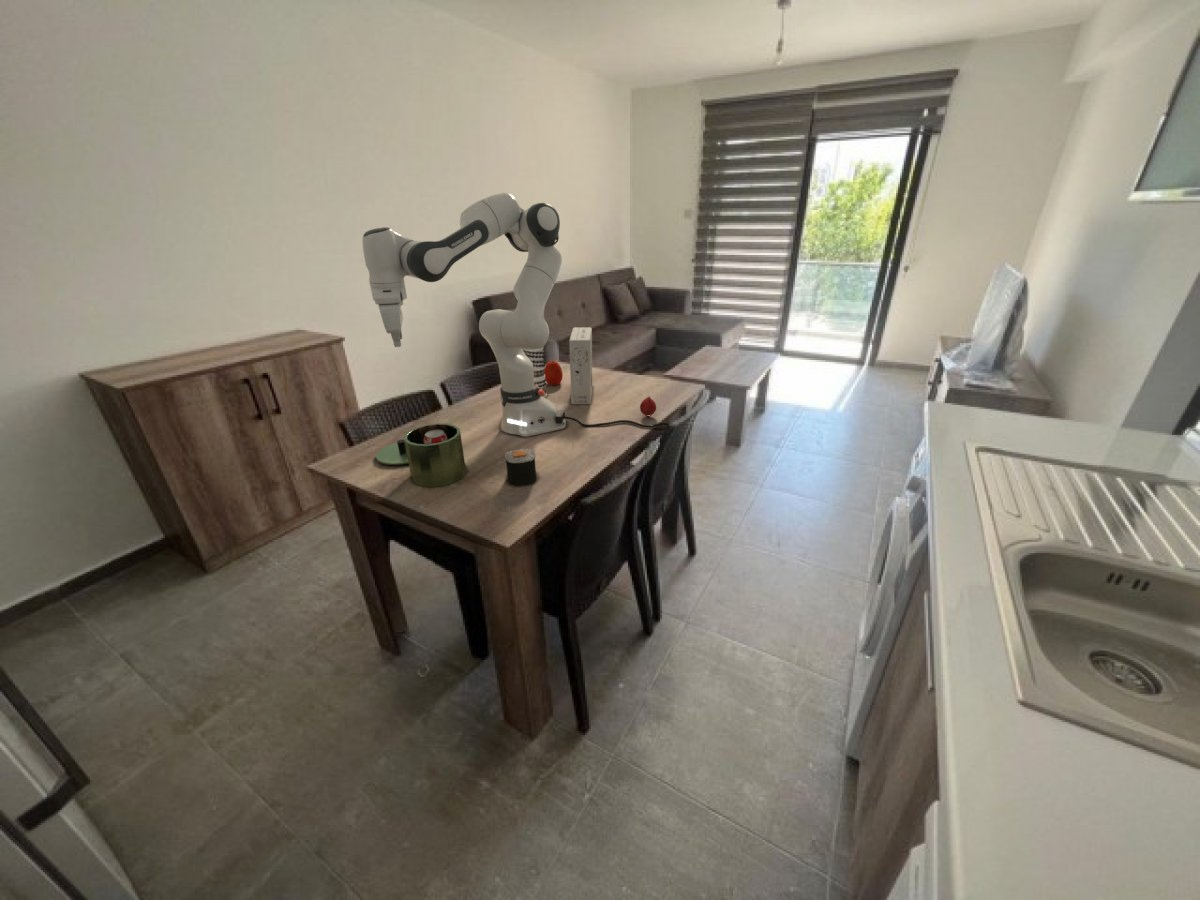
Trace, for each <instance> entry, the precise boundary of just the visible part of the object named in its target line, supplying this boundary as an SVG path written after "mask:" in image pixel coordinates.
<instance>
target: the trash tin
mask: <svg viewBox="0 0 1200 900" xmlns="http://www.w3.org/2000/svg"><path fill="white" fill-rule="evenodd" d="M432 430H442V431H444V433H445V434H446V436H447V439H448V440H446V441H443V442H440V443H435V444H424V437H425V434H426V433H427V432H429V431H432ZM403 440H404V443H405V447H406V452H407V457H408V462H409V463H408V467H409V472H410V477H411V479H412V481H413V483H415V484H416V485H417V486H420V487H421V486H422V487H427V488H435V487H443V486H447V485H451V484H453V483H455V482H457V481H459V480H461V479H462V478H463V477H464V476H465V474H466V471H467V468H466V462H465V461H466V460H465V455H464V449H463V441H462V435H461V429H460V427H459V426H457V425H456V424H451V423H446V422H445V423H441V422H438V423H437V422H436V423H429V424H424V425H420V426H417V427H414V428H412V429H410V430H408V431H407V432H406V433H405V434H404V435H403Z"/></svg>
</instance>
